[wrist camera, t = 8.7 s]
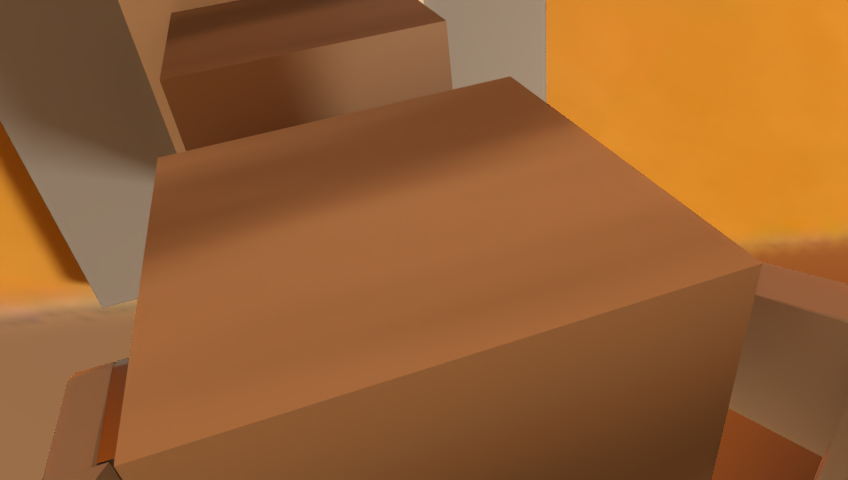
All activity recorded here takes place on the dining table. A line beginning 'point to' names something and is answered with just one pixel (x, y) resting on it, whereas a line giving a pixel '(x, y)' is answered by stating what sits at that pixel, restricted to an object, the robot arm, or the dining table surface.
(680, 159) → the dining table surface
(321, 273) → the maple block
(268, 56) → the walnut block
